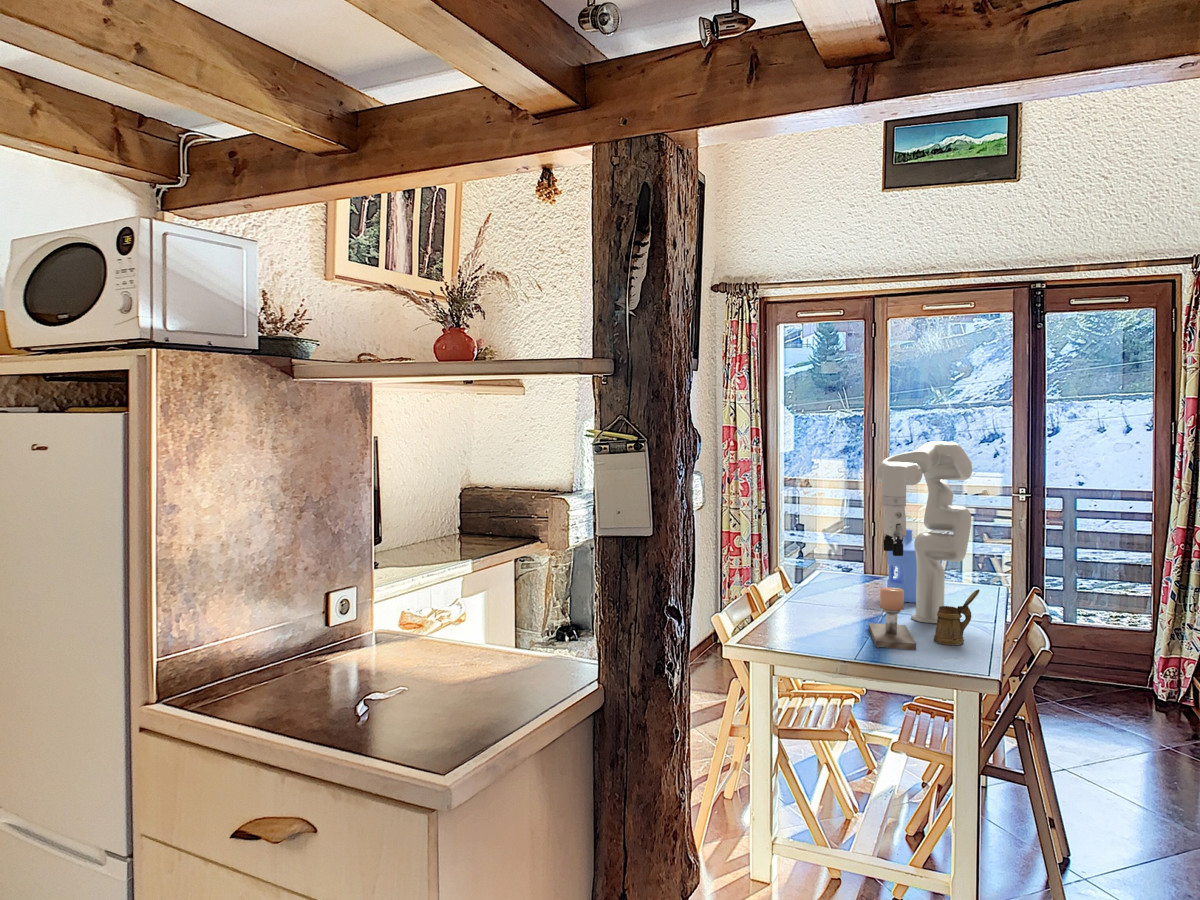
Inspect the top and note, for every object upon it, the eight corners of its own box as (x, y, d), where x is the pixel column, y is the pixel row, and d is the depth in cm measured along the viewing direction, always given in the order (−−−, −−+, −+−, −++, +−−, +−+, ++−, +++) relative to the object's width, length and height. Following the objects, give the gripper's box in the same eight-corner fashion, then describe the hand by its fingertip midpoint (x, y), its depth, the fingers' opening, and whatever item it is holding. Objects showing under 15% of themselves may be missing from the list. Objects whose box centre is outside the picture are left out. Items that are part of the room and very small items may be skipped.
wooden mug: (979, 648, 265) (980, 591, 265) (933, 643, 270) (934, 588, 269) (977, 641, 273) (979, 586, 273) (933, 637, 278) (934, 583, 278)
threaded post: (899, 631, 278) (899, 607, 278) (901, 635, 273) (901, 611, 272) (881, 630, 279) (881, 606, 279) (883, 634, 274) (883, 610, 274)
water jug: (923, 595, 344) (924, 528, 343) (931, 604, 328) (932, 533, 327) (883, 594, 347) (884, 527, 346) (889, 602, 331) (891, 532, 330)
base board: (905, 630, 286) (905, 625, 286) (916, 649, 263) (916, 643, 263) (868, 628, 289) (868, 623, 289) (876, 647, 266) (876, 641, 266)
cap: (891, 611, 271) (892, 591, 270) (875, 606, 277) (875, 587, 277) (908, 609, 274) (908, 589, 274) (891, 604, 281) (892, 585, 280)
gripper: (914, 504, 266) (913, 557, 267) (897, 498, 283) (896, 549, 284) (890, 504, 266) (889, 557, 267) (874, 498, 284) (874, 549, 285)
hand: (893, 553), depth 276 cm, fingers open, 9 cm apart
